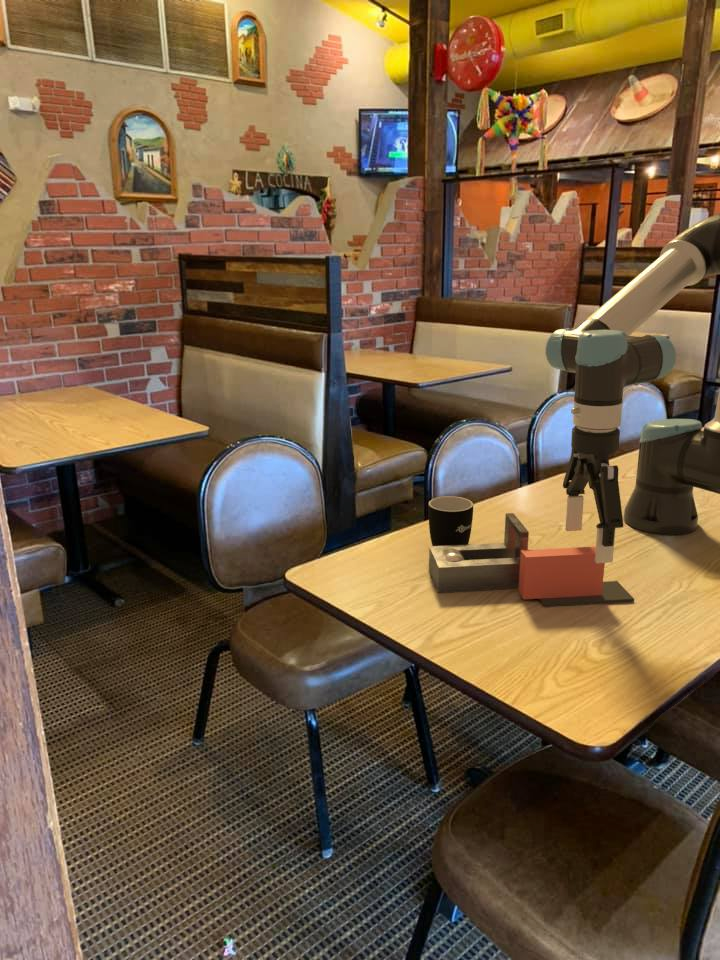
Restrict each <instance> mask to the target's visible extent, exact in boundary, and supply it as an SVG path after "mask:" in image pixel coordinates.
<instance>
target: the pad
mask: <svg viewBox="0 0 720 960" xmlns="http://www.w3.org/2000/svg"><path fill="white" fill-rule="evenodd" d="M538 601H539V602H540V604H541V605H542V607H543V608H549V607H552V608H553V607H564V606H565V607H566V606H586V605H602V604H603V605H604V604H619V603H634V602H635V598H634V597H633V595H632V594H630V593H629V592H628V591H627V589H626V588H624V586H623V585H622V584H621V583H620V582H619V581H618V580H611V581H603V587H602V595H596V596H578V597H559V598H541V599H538Z"/></svg>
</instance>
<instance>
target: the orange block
mask: <svg viewBox="0 0 720 960" xmlns="http://www.w3.org/2000/svg"><path fill="white" fill-rule="evenodd" d="M595 552H596V546H582V547H581V546H580V547H560V548H557V547H555V548H542V549H540V548H539V549H537V548H536V549H528V550H521V556H520V573H519V589H518V593H519V595H520V596H521V598H522V599H523V600H534V599H536V600H537V599H538V600H539V599H541V598H559V597H578V596H596V595H602V587H603V582H604V575H605V567H606V566H605V564H606V563H596V562H595Z"/></svg>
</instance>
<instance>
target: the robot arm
mask: <svg viewBox="0 0 720 960" xmlns="http://www.w3.org/2000/svg"><path fill="white" fill-rule="evenodd" d="M714 275H715V276H716V275H720V213H717V214H714V215H711V216H709V217H706V218H705V219H703V220H702V219H701V220H700V221H698V222H696V223H695V224H693V225H691V226H690V227H688V228H686V229H685V230H684V231H682V232H680V233H679V234H678V235H676V236H675V237H674V238H673V239H671V240H670V241H669V242H667V243H666V244H665V245H664V246H663V248H662V249H661V250H660V254H659V257H658V258H657V259H655V260H654V261H653V262H652V263H651V264H650V265H649V266H647V267H646V268H645V269H644V270H643V271H642V272H640V273H639V274H638V275H636V276H635V277H634V278H633V279H632V280H630V282H629V283H628V282H627V284H626V285H625V286H624V287H622V288H621V289H620V290H619V291H618V292H617V293H616V294H614V295H613V296H612V297H610V299H608V300H607V301H606V302H604V303H603V305H601V306H600V307H598V308H597V310H595V311H594V312H593V313H591V315H590V316H588V317H587V318H585V320H583V322H581V323H580V324H578V326H576V327H575V328H573V329H572V328H569V327H567V328H559V329H556V330H555V331H554V332H551V334H550V335H549V338H548V339H547V341H546V344H545V357H546V360H547V362H548V364H549V366H551V367H552V368H553V369H557V370H560V371H565V372H566V373H567V372H568V373H575V376H574V377H575V378H574V380H575V381H574V383H575V384H574V396H573V408H571V409H570V413H571V414H572V424H573V425H574V426H573V427H572V429H571V444H570V446H571V453H570V457H569V458H570V459H569V461H568V463H567V464H568V465H567V469H566V472H565V474H564V475H565V476H564V479H563V481H562V482H563V483H562V488H563V489H566V490H565V494H566V495H567V499H566V501H567V502H566V517H565V518H566V519H565V531H566V532H575V531H582V529H583V514H584V499H585V496H584V495H586V492H585V489H586V486H587V484H588V487H589V489H590V490H592V492H593V496H594V499H595V500H594V501H595V505H596V510H597V515H598V519H599V523H597V524H596V525H595V526H596V538H595V539H596V544H595V547H596V552H595V562H596V563H605V564H606V563H613V561H614V549H615V539H616V536H615V535H616V529H619V528H624V522H625V523H626V524H627V525H628V526H630V527H633V528H635V529H636V530H639V531H643V532H645V533H650V534H651V533H652V534H656V535H664V536H665V535H668V536H671V535H672V536H674V535H677V536H678V535H679V536H680V535H686V534H689V533H692V532H694V531H696V529H697V528H698V522H699V516H698V515H699V514H698V511H697V506H696V502H695V498H694V494H693V493H694V488H697V489H700V490H703V491H708V492H710V493H714V494H718V495H720V388H719V389H718V390H719V391H718V396H717V402H716V406H715V407H716V408H715V411H714V417H713V418H712V419H711V420H710V421H708V422H707V423H705V424H704V428H703V423H702V422H701V421H700V420H698V419H694V418H693V419H692V418H666V419H665V418H664V419H663V418H662V419H656V420H652V421H649V422H647V423H645V424H644V425H643V427H641V428H642V429H641V434H640V439H639V443H638V444H639V446H638V447H639V448H638V456H637V457H638V458H637V469H636V478H635V486H634V489H633V491H632V492H631V494H630V497H629V499H628V502H627V503H626V505H625V507H624V511H623V509H622V500H621V494H620V493H621V492H620V485H619V466H618V465H616V464H615V465H611V464H610V459H609V457H610V456H611V455H613V454H614V453H616V452H618V450H619V447H620V436H621V435H620V434H621V431H620V429H619V427H620V426H621V424H622V416H623V413H622V412H623V402H624V401H623V397H624V389H625V388H624V387H628V386H632V385H638V384H643V383H651V382H654V381H656V380H658V379H661V378H664V377H666V376H667V375H669V374H670V373H671V372H672V370H673V369H674V367H675V364H676V361H677V352H676V349H675V348H676V347H675V346H674V344H673V343H672V341H671V340H670V339H669V338H668V337H666V336H664V335H661V334H660V335H659V334H654V335H651V334H645V335H644V336H635V335H634V336H633V335H632V334H633V333H634V332H635V331H636V330H637V329H639V328H640V327H641V326H642V325H643V324H645V323H646V322H647V321H648V320H649V319H650V318H651V317H653V316H654V315H655V314H656V313H657V312H659V310H660V309H661V308H663V307H664V306H665V305H666V304H667V303H669V301H670V300H672V299H673V298H674V297H675V296H676V295H678V293H680V292H681V291H682V290H683V289H684V288H685V287H688V286H693V285H696V284H698V283H699V282H700V281H702V280H703V279H704V278H706V277H710V276H714ZM702 429H703V430H702Z"/></svg>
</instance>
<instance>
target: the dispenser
mask: <svg viewBox="0 0 720 960" xmlns="http://www.w3.org/2000/svg"><path fill="white" fill-rule="evenodd" d="M504 520H505V521H504V539H503V540H504V541H503V542H493V543H474V544H473V543H471V544H469V543H468V545H449V546H430V545H429V549H428V550H429V551H428V553H429V554H428V557H429V558H428V571H429V574H430V576H431V578H432V581H433V583H434V586H435V588H436V591H437V593H438V594H447V593H461V592H463V593H464V592H465V593H466V592H476V591H477V592H482V591H497V590H500V591H501V590H519V573H520V556H521V550H529V549H528V548H529V534H530V532H529V530H528V529H527V528H526V526H525V525H524V524H523V523H522V522H521V520H520V519H519V518H518V516H516V515H515V513H514V512H510V513H505V518H504Z"/></svg>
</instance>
